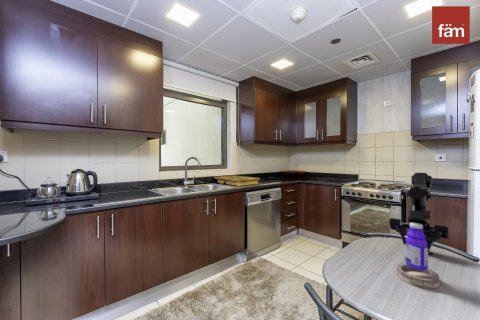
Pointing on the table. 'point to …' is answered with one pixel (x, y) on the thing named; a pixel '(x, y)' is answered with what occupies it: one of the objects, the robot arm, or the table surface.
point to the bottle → (416, 248)
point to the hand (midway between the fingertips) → (416, 246)
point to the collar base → (418, 276)
